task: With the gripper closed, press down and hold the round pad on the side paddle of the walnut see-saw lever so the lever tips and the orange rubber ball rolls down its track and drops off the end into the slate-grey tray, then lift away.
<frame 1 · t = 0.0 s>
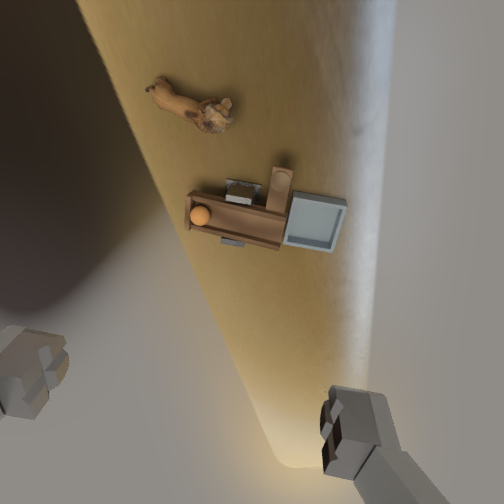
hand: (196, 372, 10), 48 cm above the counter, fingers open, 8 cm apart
lion figurine: (197, 100, 51), on the counter
tray: (312, 218, 59), on the counter
lever: (237, 201, 52), point 6 cm above the counter, hinge at 8.0°, touching ball
ball: (200, 215, 53), point 7 cm above the counter, touching lever
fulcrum: (240, 205, 59), on the counter
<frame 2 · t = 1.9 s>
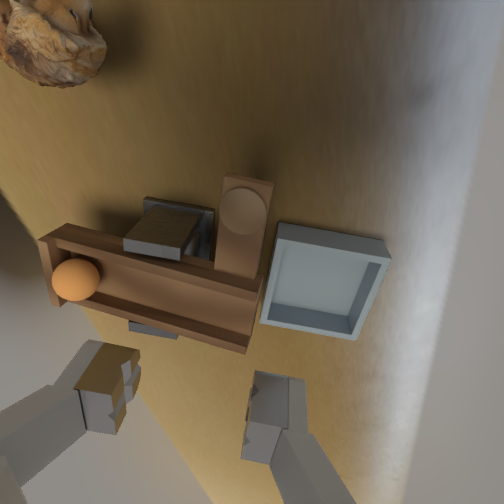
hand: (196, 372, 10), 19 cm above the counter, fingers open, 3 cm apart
lion figurine: (50, 21, 23), on the counter
tray: (317, 273, 30), on the counter
lever: (151, 252, 23), point 6 cm above the counter, hinge at 8.0°, touching ball
ball: (76, 279, 25), point 7 cm above the counter, touching lever
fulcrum: (178, 248, 31), on the counter
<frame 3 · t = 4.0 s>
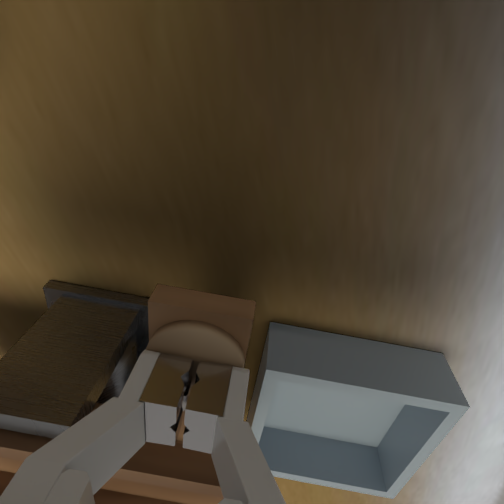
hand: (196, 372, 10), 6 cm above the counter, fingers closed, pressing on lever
tray: (332, 391, 19), on the counter
lever: (25, 423, 12), point 6 cm above the counter, hinge at -0.5°, touching ball, gripper
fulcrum: (113, 350, 19), on the counter
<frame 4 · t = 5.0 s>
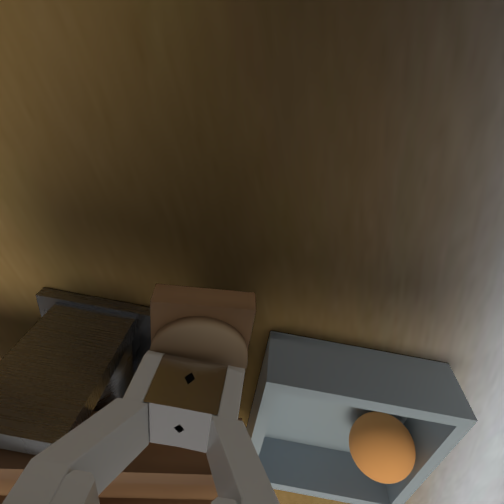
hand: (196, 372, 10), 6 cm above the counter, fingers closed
tray: (334, 401, 19), on the counter
lever: (18, 440, 12), point 6 cm above the counter, hinge at -8.2°, touching gripper
ball: (381, 445, 17), point 2 cm above the counter, tilted 52°, touching tray
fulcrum: (109, 359, 19), on the counter
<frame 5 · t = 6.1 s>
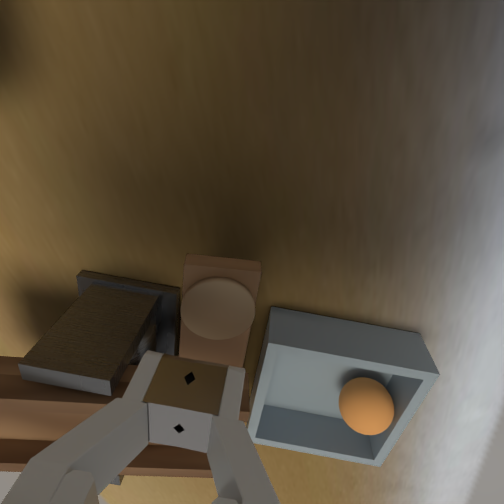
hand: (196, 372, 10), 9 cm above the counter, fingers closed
tray: (325, 370, 22), on the counter
lever: (73, 381, 15), point 6 cm above the counter, hinge at -8.2°
ball: (365, 405, 20), point 2 cm above the counter, tilted 53°, touching tray
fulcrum: (133, 335, 22), on the counter
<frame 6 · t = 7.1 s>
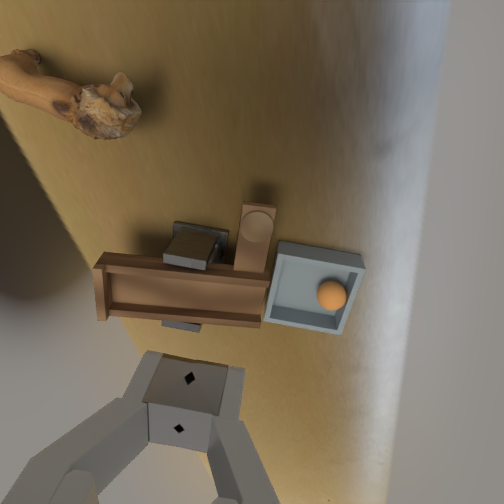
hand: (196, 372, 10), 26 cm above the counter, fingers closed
lion figurine: (95, 88, 31), on the counter
tray: (309, 281, 38), on the counter
lever: (186, 264, 31), point 6 cm above the counter, hinge at -8.2°
ball: (331, 295, 36), point 2 cm above the counter, tilted 55°, touching tray
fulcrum: (198, 261, 38), on the counter
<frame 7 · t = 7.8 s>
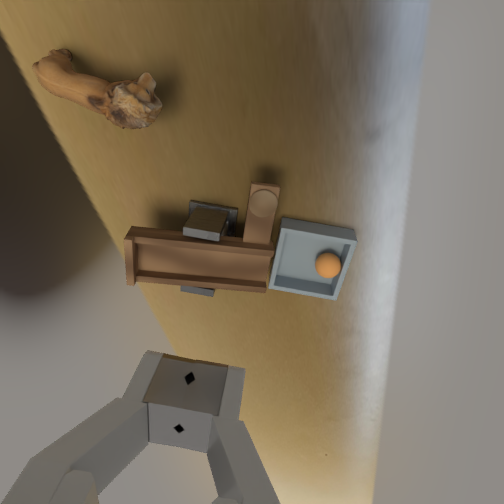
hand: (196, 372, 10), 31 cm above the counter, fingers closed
lion figurine: (119, 83, 35), on the counter
tray: (309, 253, 43), on the counter
lever: (202, 236, 36), point 6 cm above the counter, hinge at -8.2°
ball: (327, 265, 41), point 2 cm above the counter, tilted 54°, touching tray
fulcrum: (211, 236, 43), on the counter
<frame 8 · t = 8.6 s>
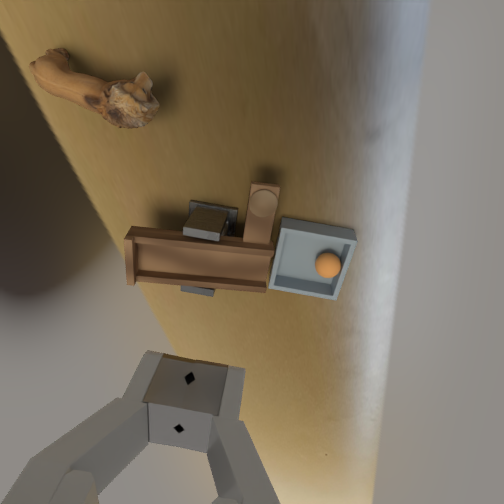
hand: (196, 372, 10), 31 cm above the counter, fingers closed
lion figurine: (116, 82, 35), on the counter
tray: (309, 253, 43), on the counter
lever: (202, 236, 36), point 6 cm above the counter, hinge at -8.2°
ball: (327, 265, 41), point 2 cm above the counter, tilted 54°, touching tray
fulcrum: (211, 236, 43), on the counter
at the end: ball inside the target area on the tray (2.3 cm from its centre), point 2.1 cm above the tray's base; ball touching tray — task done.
